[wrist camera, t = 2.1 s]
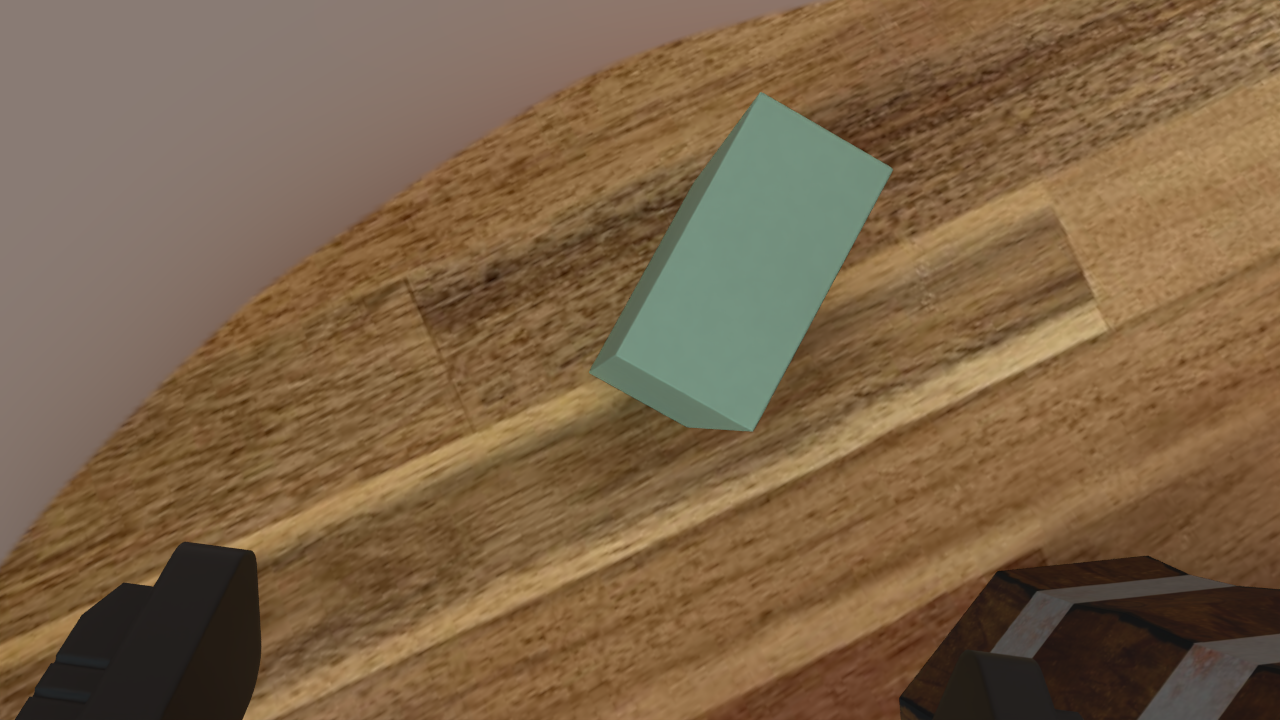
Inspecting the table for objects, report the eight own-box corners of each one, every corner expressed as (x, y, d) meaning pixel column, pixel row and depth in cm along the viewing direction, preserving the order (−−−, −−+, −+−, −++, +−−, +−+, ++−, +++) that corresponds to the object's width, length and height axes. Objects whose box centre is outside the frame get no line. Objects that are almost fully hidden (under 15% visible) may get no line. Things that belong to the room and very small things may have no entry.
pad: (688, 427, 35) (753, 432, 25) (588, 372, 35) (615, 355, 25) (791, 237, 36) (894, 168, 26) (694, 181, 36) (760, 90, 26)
